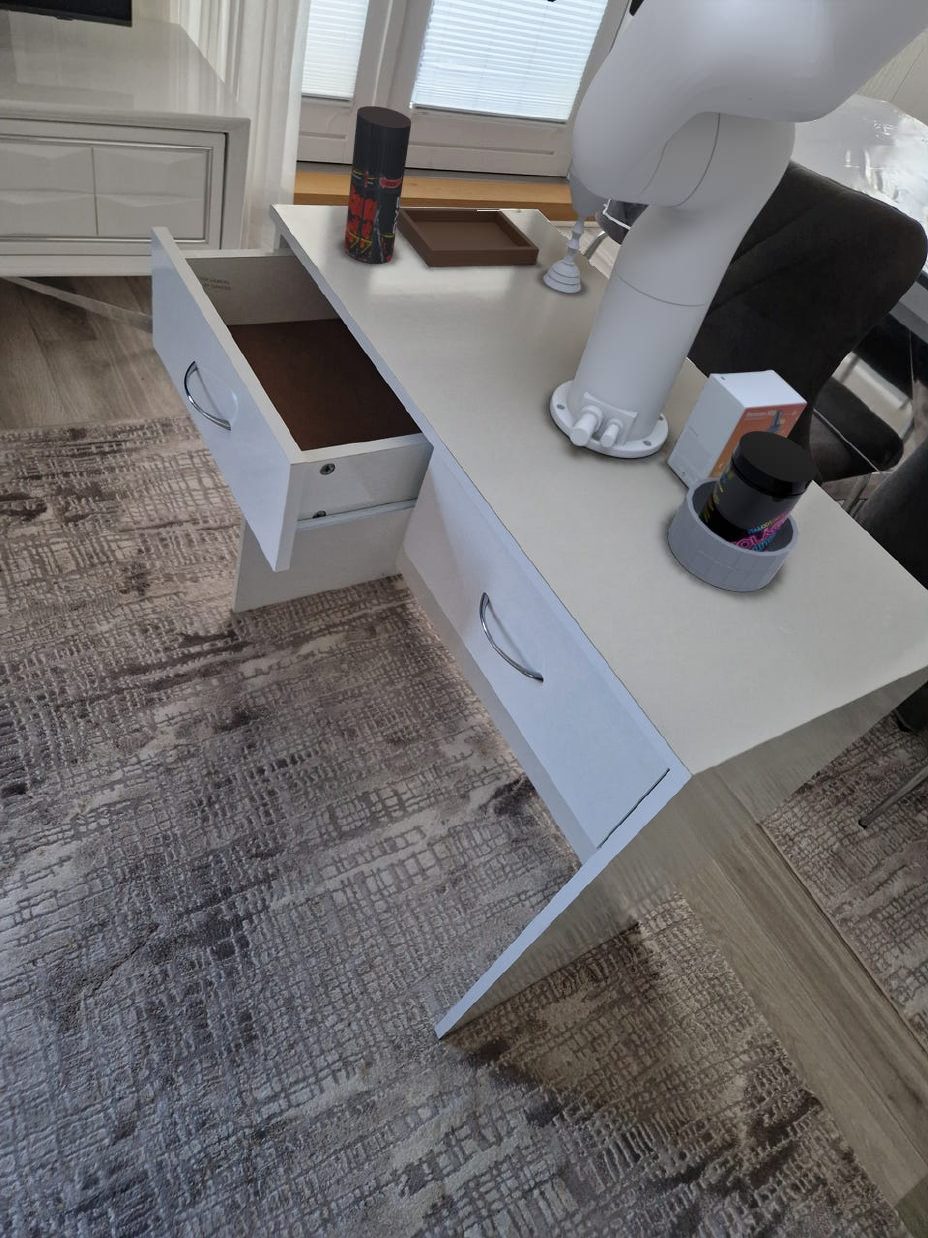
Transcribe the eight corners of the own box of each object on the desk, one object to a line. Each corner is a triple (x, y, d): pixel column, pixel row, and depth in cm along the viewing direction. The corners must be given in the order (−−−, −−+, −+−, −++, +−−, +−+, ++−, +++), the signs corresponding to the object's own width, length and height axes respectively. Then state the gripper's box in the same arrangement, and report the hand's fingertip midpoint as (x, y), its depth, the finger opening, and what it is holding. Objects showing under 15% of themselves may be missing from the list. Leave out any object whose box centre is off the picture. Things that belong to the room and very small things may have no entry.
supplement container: (699, 570, 71) (754, 477, 64) (678, 519, 76) (728, 426, 68) (768, 576, 73) (830, 486, 65) (744, 525, 77) (799, 435, 70)
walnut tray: (429, 266, 100) (432, 250, 99) (393, 223, 107) (395, 206, 105) (535, 264, 107) (539, 249, 106) (495, 223, 113) (499, 208, 112)
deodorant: (343, 237, 101) (356, 102, 90) (391, 244, 102) (409, 112, 91) (344, 259, 97) (357, 121, 86) (393, 266, 98) (413, 131, 88)
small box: (695, 499, 79) (744, 407, 72) (665, 463, 82) (709, 371, 75) (757, 490, 82) (810, 402, 75) (725, 456, 86) (773, 367, 78)
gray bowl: (765, 608, 71) (791, 572, 67) (656, 561, 72) (676, 523, 68) (779, 542, 77) (803, 506, 74) (679, 499, 79) (699, 462, 75)
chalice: (529, 283, 103) (571, 128, 90) (541, 263, 108) (583, 113, 95) (584, 302, 103) (634, 149, 90) (593, 281, 107) (642, 132, 94)
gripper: (572, -260, 65) (520, 0, 77) (759, -202, 70) (682, 34, 82) (549, -263, 70) (503, -19, 82) (725, -209, 75) (657, 15, 87)
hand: (592, 8), depth 82 cm, fingers open, 9 cm apart
